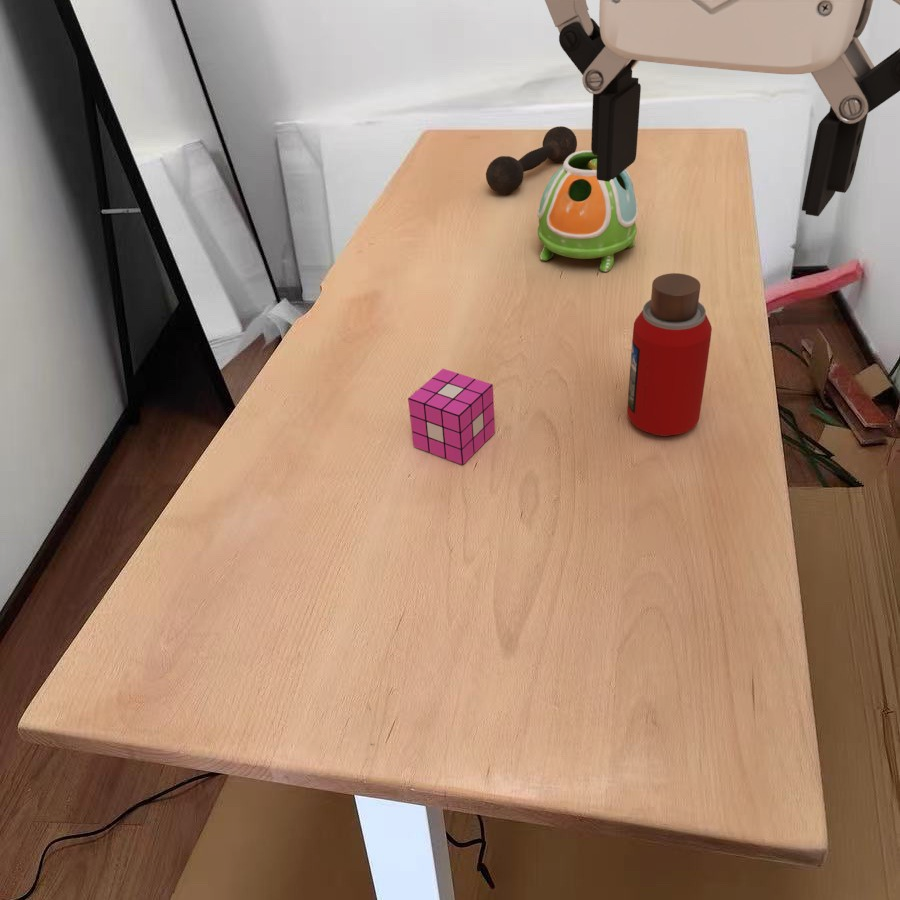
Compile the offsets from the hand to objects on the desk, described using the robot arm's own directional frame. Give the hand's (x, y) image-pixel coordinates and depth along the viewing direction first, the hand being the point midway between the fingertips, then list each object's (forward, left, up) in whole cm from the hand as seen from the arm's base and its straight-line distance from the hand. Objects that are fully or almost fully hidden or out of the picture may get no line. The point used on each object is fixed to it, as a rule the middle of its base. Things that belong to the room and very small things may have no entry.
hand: (712, 186), depth 40 cm
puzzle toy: (+26, -14, -34) cm, 45 cm away
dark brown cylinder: (+10, -26, -22) cm, 36 cm away
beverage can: (+10, -26, -34) cm, 44 cm away
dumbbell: (+51, -75, -34) cm, 97 cm away
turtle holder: (+33, -57, -34) cm, 74 cm away
